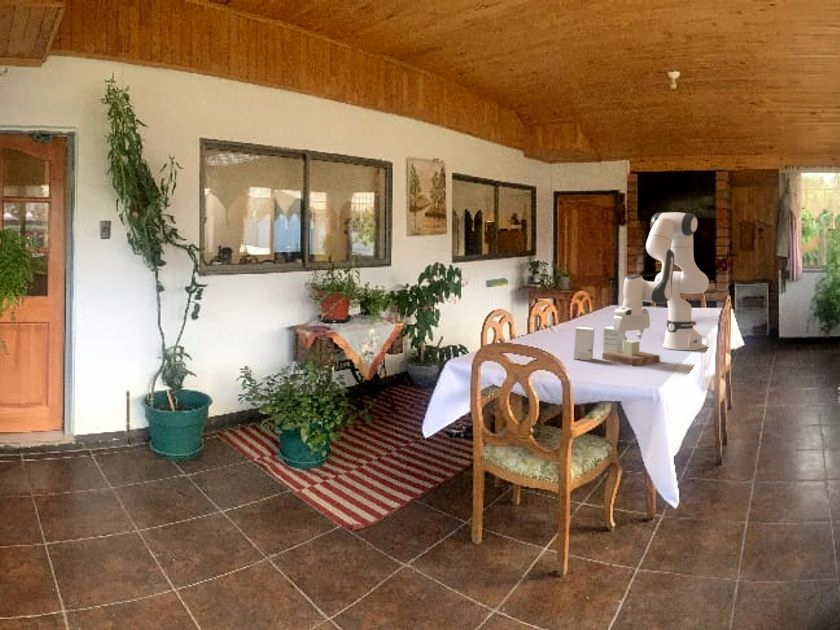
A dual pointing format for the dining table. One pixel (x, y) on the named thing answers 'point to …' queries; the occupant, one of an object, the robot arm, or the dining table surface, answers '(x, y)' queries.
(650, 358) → the walnut stand
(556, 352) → the dining table surface
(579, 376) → the dining table surface
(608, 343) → the supplement box
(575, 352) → the skincare box
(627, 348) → the sage block
